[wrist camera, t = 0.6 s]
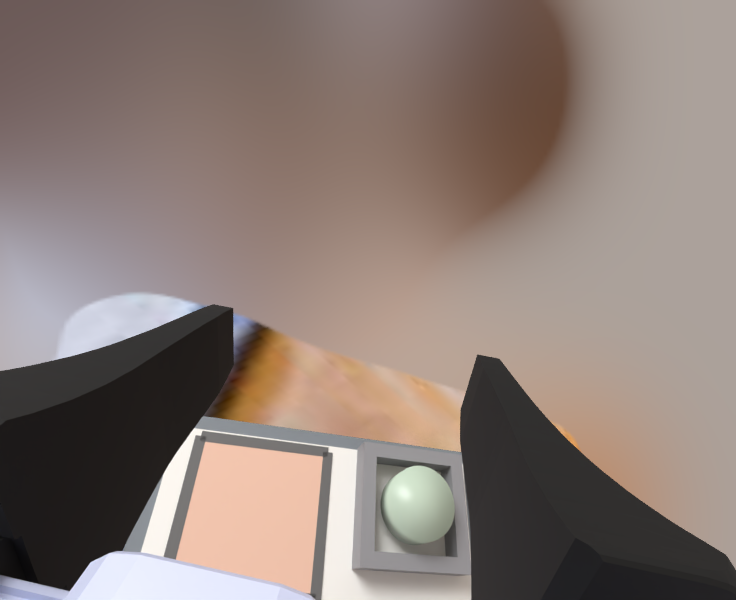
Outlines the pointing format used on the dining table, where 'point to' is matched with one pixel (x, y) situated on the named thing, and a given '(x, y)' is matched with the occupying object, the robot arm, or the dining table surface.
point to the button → (417, 506)
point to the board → (303, 513)
